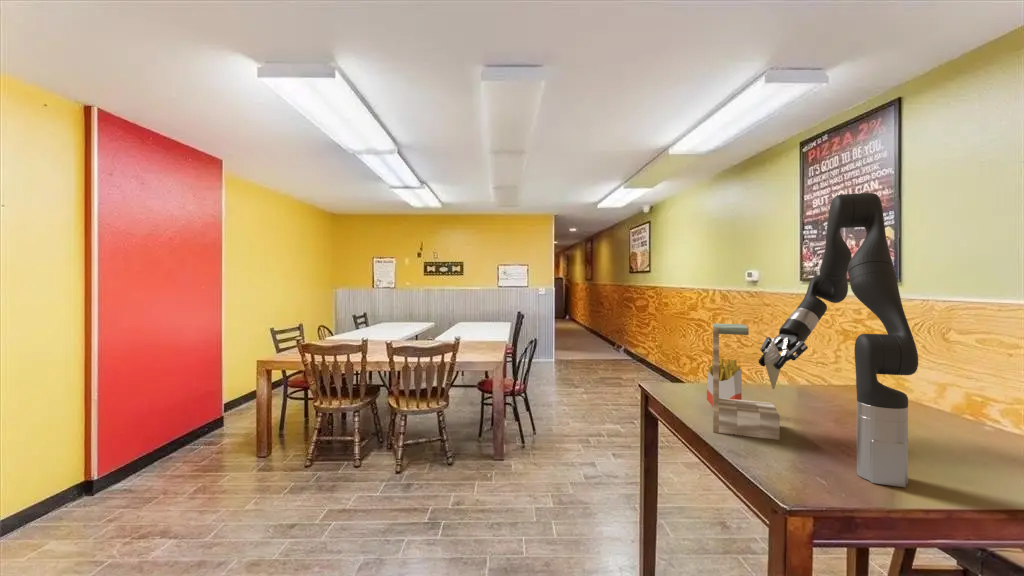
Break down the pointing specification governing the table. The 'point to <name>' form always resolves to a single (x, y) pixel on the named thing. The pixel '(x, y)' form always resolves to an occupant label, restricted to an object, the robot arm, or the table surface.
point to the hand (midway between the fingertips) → (768, 365)
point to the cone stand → (740, 401)
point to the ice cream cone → (772, 364)
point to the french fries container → (726, 381)
